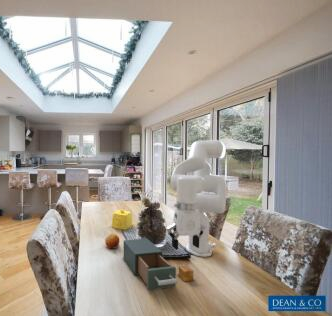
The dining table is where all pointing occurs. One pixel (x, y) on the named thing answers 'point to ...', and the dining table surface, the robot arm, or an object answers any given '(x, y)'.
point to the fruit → (112, 241)
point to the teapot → (122, 219)
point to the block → (185, 273)
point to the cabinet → (138, 251)
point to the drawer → (156, 271)
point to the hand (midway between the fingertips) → (185, 247)
